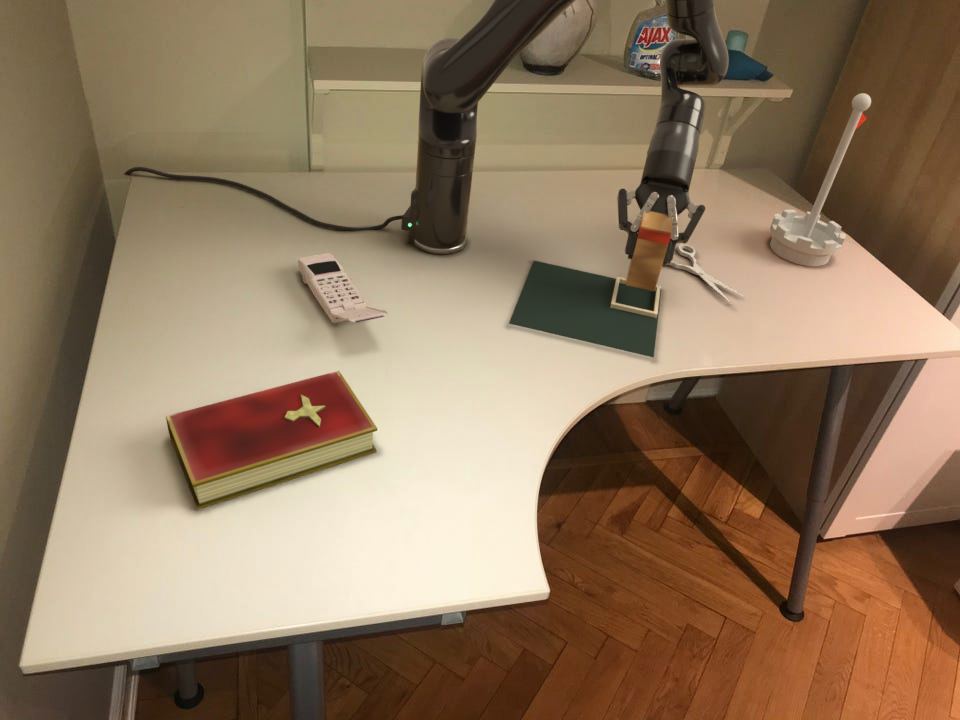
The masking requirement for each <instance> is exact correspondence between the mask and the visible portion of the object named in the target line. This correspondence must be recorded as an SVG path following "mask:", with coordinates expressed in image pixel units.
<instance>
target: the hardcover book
mask: <svg viewBox="0 0 960 720" xmlns="http://www.w3.org/2000/svg"><path fill="white" fill-rule="evenodd" d="M165 421H166V425H167V431H168V436H169V440H170V443H171V445H172V448H173V451H174V453H175V456H176V458H177V462H178V463H179V467H180V469H181V471H182V474H183V476H184V479H185V482H186V484H187V487H188V489H189V492H190V495H191V497H192V500H193V504H194V505H195V508H196V510H197V511H199V510H202V509H205V508H208V507H211V506H214V505H217V504H221V503H223V502H227V501H230V500H233V499H236V498H239V497H242V496H245V495H248V494H251V493H255V492H257V491H261V490H263V489H267V488H270V487H274V486H276V485H279V484H283V483H285V482H288V481H291V480H295V479H298V478H302V477H304V476H308V475H310V474H313V473H316V472H320V471H322V470H325V469H329V468H331V467H334V466H338V465H341V464H344V463H347V462H351V461H353V460H357V459H360V458H363V457H366V456H368V455H369V456H370V455H373V454H375V453H377V452H378V451H377V448H376V446H375V445H374V443H373V439H374V438H373V436H374V432H378V427H377V425H376V424H375V422H374V421H373V420H372V418H371V417H370V415H369V413H368V412H367V410H366V409H365V407H364V405H363V404H362V402H361V401H360V400H359V398H358V397H357V395H356V394H355V392H354V391H353V389H352V388H351V386H350V385H349V383H348V382H347V380H346V378H345V377H344V376H343V374H342V373H341V372H340V370H336V371H333V372H332V371H331V372H328V373H325V374H321V375H317V376H313V377H310V378H305V379H302V380H298V381H294V382H290V383H287V384H283V385H279V386H276V387H275V386H274V387H271V388H267V389H264V390H260V391H255V392H252V393H248V394H246V395H241V396H238V397H234V398H230V399H226V400H223V401H219V402H214V403H211V404H206V405H203V406H199V407H195V408H191V409H188V410H184V411H181V412H175V413H173V414H169V415H165Z"/></svg>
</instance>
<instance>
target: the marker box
mask: <svg viewBox="0 0 960 720" xmlns="http://www.w3.org/2000/svg"><path fill="white" fill-rule="evenodd" d="M645 212H646V211H645ZM645 212H644V213H643V215H642V219H641V223H640V228H639V231H638V237H637V241H636V245H635V250H634V254H633V257H632V259H630V261H629V265H628V269H627V275H626V285H627V286H632V287H636V288H641V289H645V290H650V291H655V288H656V285H657V284H658V280H659V277H660V274H661V270H662V267H663V266H662V264H663V260H664V257H665V254H666V250H667V247H668V244H669V241H670V237H671V233H672V225H673V218H669V217H668V215H667V214H662V213H657V212H652V211H650V212H649V213H645Z"/></svg>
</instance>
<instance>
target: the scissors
mask: <svg viewBox="0 0 960 720" xmlns="http://www.w3.org/2000/svg"><path fill="white" fill-rule="evenodd" d="M685 249H686V250H688V251H690V252H687V251H685ZM696 251H697V250H696V249H695V248H694V247H693V246H692V245H689V244H686V243H680V244H679V245H678V246H677V252H678V254H679V255H680V256H682V257H686V258H688V259H689V260H690V261H691V264H692V266H691V265H688V264H681V263H679V262H676V261H674V260H672V261H671V262H670V264H668V263H667V265H666V266H671V267H674V268H676V269H681V270H685V271H687V272H688V273H691V274H693V275H696V276H699V278H701V279H702V280H703V281H704V282H705V283H706V284H707V285H708V286H709V287H711V288H712V290H714V291H715V292H716V293H717V294H719V295H720V296H721V298H723V299H725V301H727V302H728V303H730V304H731V305H733V303H732V302H731V301H730V300H729V299H728V297H726V295H725V294H724V293H723V292H722V291H721V290H720V289H719V288H718V286H717V285H719V286H720V287H723V288H725V289H727V290H729V291H731V292H734V293H735V294H738V295H739V296H742V297H744V298H746V299H748V297H747V296H746V295H743V294H742V293H740V292H739V291H736V290H735V289H733V288H732V287H730V286H728V285H727V284H725V283H723V281H720V280H718V279H717V278H714V277H713V276H711V275H710V274H708V273H706V271H705V270H704V269H703V268H702V267H701V266H700V265H699V264H698V263H697V258H695V256H696Z"/></svg>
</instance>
